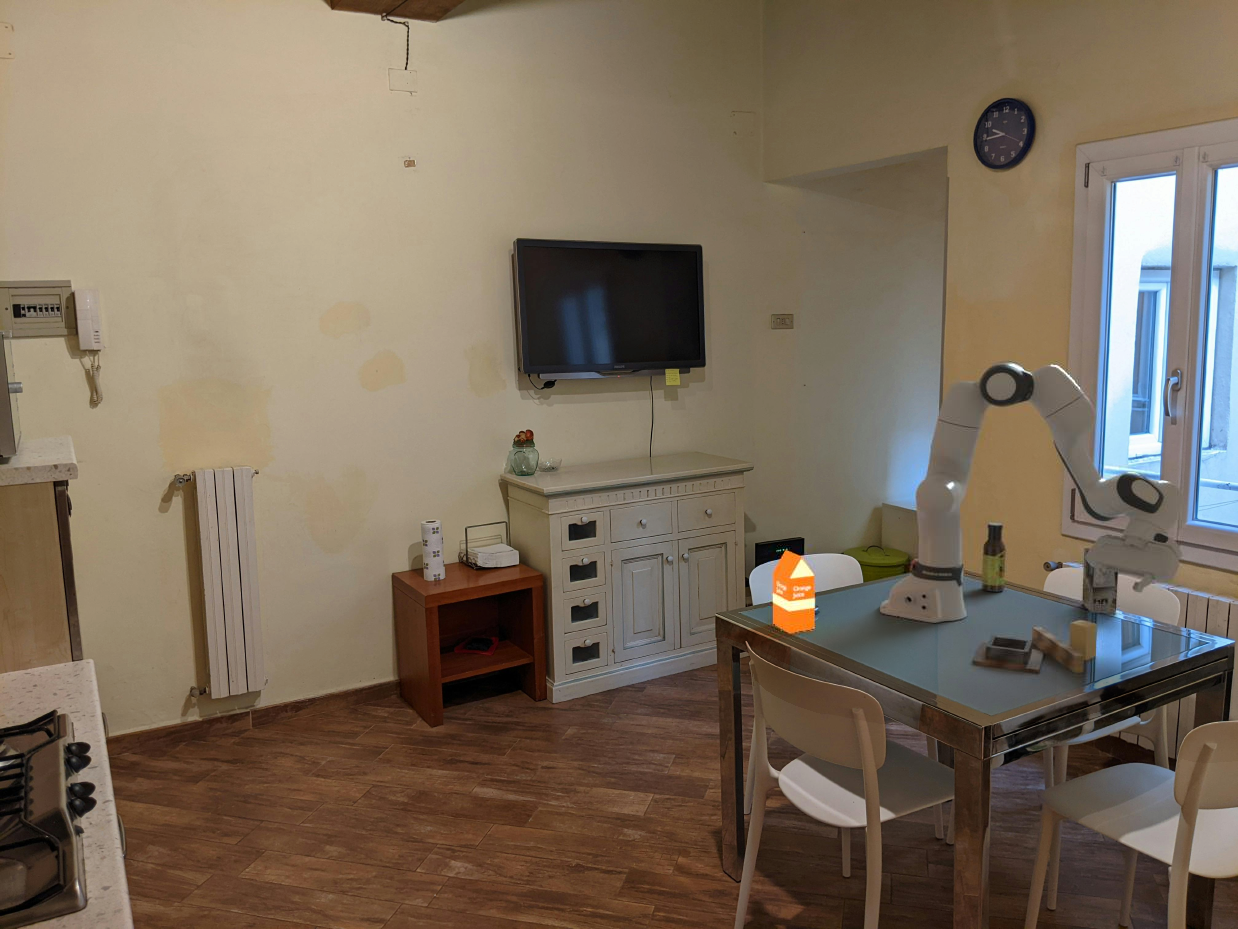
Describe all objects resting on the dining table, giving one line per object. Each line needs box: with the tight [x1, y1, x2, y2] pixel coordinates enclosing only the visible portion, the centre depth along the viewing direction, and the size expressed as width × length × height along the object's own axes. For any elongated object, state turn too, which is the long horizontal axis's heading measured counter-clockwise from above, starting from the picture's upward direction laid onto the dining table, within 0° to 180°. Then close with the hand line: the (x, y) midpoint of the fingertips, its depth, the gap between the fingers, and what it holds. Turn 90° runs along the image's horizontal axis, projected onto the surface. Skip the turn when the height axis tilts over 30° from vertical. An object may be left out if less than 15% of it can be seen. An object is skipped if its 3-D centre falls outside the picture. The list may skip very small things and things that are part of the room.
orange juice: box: [772, 549, 816, 634], centre depth 239 cm, size 8×9×20 cm
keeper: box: [972, 634, 1045, 674], centre depth 213 cm, size 14×14×4 cm
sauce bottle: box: [981, 522, 1007, 593], centre depth 268 cm, size 6×6×20 cm
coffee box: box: [1081, 547, 1119, 615], centre depth 248 cm, size 9×6×16 cm
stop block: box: [1069, 619, 1098, 661], centre depth 213 cm, size 4×4×8 cm
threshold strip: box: [1031, 626, 1085, 674], centre depth 213 cm, size 20×2×4 cm, turn 1°
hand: (1116, 586), depth 218 cm, fingers open, 8 cm apart
